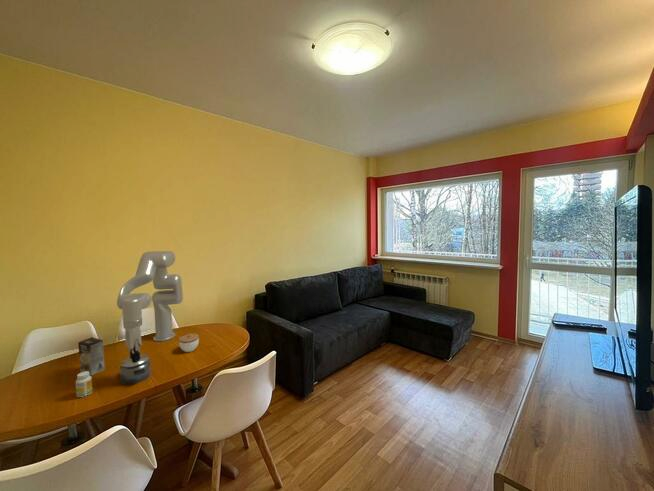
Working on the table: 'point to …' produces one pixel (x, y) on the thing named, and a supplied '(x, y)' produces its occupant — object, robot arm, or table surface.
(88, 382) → the supplement bottle
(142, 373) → the pot
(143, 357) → the lid
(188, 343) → the lidded jar
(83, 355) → the coffee box
